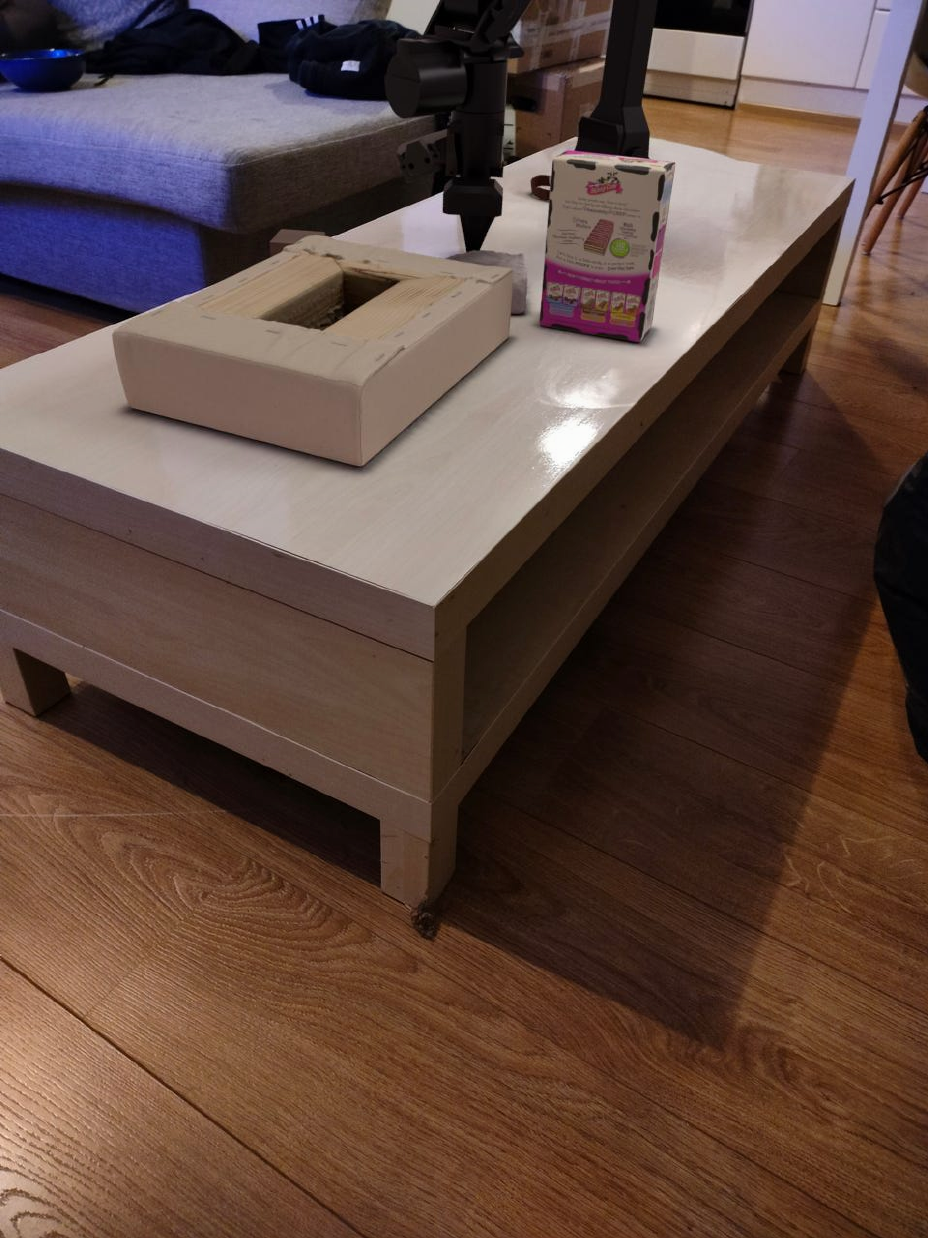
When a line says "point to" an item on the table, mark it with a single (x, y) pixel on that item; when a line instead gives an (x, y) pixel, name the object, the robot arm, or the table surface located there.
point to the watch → (540, 181)
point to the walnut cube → (288, 239)
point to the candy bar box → (604, 243)
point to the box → (317, 346)
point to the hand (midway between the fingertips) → (471, 257)
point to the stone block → (504, 261)
